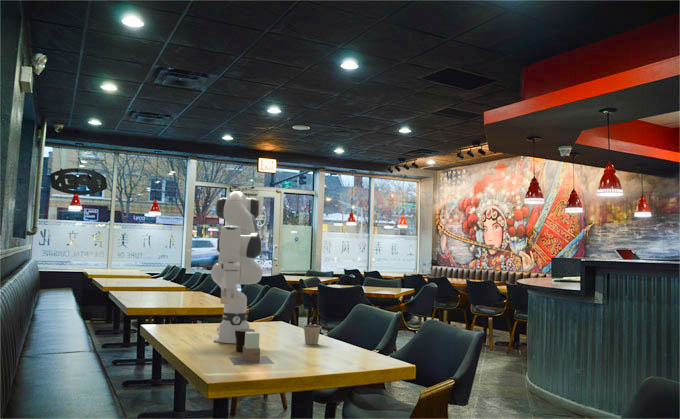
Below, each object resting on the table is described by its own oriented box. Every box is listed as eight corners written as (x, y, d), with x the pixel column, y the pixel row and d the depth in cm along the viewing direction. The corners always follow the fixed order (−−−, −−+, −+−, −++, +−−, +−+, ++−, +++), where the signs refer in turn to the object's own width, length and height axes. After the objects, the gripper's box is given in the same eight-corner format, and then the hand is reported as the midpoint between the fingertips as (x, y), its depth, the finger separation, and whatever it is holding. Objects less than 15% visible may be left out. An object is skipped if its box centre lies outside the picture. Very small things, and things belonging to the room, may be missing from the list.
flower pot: (320, 345, 257) (321, 327, 258) (301, 345, 257) (302, 327, 258) (321, 342, 267) (322, 325, 267) (302, 341, 267) (303, 324, 267)
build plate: (228, 358, 218) (228, 356, 218) (266, 357, 223) (266, 355, 223) (233, 366, 203) (233, 364, 203) (274, 365, 208) (274, 363, 208)
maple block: (220, 302, 215) (221, 290, 215) (231, 302, 216) (232, 290, 217) (221, 303, 211) (222, 291, 211) (233, 303, 212) (233, 291, 213)
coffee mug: (249, 355, 227) (250, 331, 228) (230, 353, 228) (231, 330, 229) (258, 350, 238) (259, 328, 239) (240, 349, 240) (242, 327, 241)
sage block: (244, 346, 215) (245, 331, 216) (256, 346, 217) (257, 331, 217) (246, 348, 211) (247, 333, 211) (258, 348, 212) (259, 333, 213)
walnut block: (242, 358, 215) (243, 346, 215) (256, 358, 217) (257, 346, 217) (244, 361, 209) (245, 349, 210) (259, 361, 211) (260, 348, 212)
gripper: (218, 263, 224) (216, 296, 222) (224, 265, 204) (222, 301, 203) (233, 264, 226) (231, 296, 224) (240, 266, 206) (238, 301, 205)
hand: (227, 299), depth 214 cm, fingers closed on maple block, 4 cm apart
